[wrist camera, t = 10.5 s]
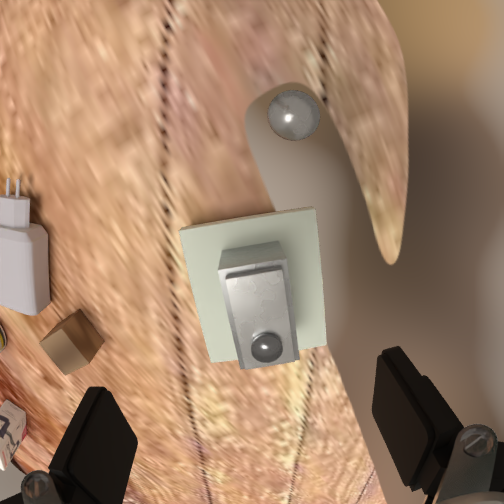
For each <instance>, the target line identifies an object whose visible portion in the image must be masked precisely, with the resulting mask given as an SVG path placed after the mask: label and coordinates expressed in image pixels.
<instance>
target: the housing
mask: <svg viewBox="0 0 504 504" xmlns="http://www.w3.org/2000/svg"><path fill="white" fill-rule="evenodd" d="M218 274H219V279H220V283H221V288H222V292H223V297H224V301H225V306H226V310H227V314H228V319H229V323H230V327H231V332H232V336H233V340H234V344H235V348H236V353H237V357H238V361H239V365H240V369H246V370H247V369H253V368H260V367H266V366H272V365H278V364H284V363H289V362H295V360H300V358H299V349H298V341H297V333H296V324H295V316H294V309H293V301H292V293H291V286H290V278H289V271H288V264H287V258H286V256H285V254H284V251H283V249H282V247H281V245H280V243H279V241H272V242H267V243H261V244H255V245H249V246H243V247H238V248H232V249H226V250H222V252H221V257H220V261H219V266H218Z"/></svg>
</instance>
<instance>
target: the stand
mask: <svg viewBox="0 0 504 504" xmlns="http://www.w3.org/2000/svg"><path fill="white" fill-rule="evenodd" d="M179 234H180V239H181V244H182V248H183V253H184V257H185V262H186V266H187V271H188V275H189V279H190V283H191V288H192V292H193V296H194V300H195V304H196V308H197V312H198V316H199V320H200V324H201V327H202V331H203V335H204V339H205V342H206V346H207V350H208V353H209V357H210V361H211V363H215V362H223V361H232V360H238V357H237V353H236V348H235V344H234V340H233V336H232V332H231V327H230V323H229V319H228V314H227V310H226V306H225V301H224V297H223V292H222V288H221V283H220V279H219V274H218V266H219V261H220V257H221V252H222V250H226V249H232V248H238V247H243V246H249V245H255V244H261V243H267V242H272V241H279V243H280V245H281V247H282V249H283V251H284V254H285V256H286V258H287V264H288V271H289V278H290V286H291V293H292V301H293V309H294V316H295V324H296V333H297V341H298V349H299V350H303V349H308V348H313V347H319V346H324V345H327V344H326V326H325V310H324V309H325V308H324V294H323V281H322V269H321V258H320V248H319V236H318V227H317V218H316V209H315V208H313V207H304V208H298V209H291V210H284V211H277V212H271V213H264V214H258V215H252V216H246V217H239V218H233V219H227V220H221V221H215V222H209V223H204V224H198V225H192V226H186V227H182V228H181V229H180V230H179Z"/></svg>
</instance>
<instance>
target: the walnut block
mask: <svg viewBox="0 0 504 504" xmlns="http://www.w3.org/2000/svg"><path fill="white" fill-rule="evenodd" d="M103 342H104V340H103V339H102V338H101V336H100V335H99V334H98V332H97V331H96V330H95V328H94V327H93V326H92V324H91V323H90V322H89V320H88V319H87V318H86V316H85V315H84V314H83V312H82V311H81V310H80V309H79V310H78V311H76V312H75V313H73V314H72V315H70V316H69V317H67V318H66V319H64V320H63V321H61V322H60V323H58V324H57V325H56V326H55V327H54V328H53V329H52V330H51V331H50V332H49V333H48V334H47V335H46V336H45V337H44V339H43V340H42V341H41V342H40V343H39V344H40V345H41V347H42V348H43V349H44V350H45V352H46V353H47V354H48V356H49V357H50V358H51V359H52V361H53V362H54V363H55V364H56V365H57V367H58V368H59V369H60V370H61V371H62V373H63V374H64V375H67V374H69V373H71V372H73V371H75V370H77V369H80V368H82V367H84V366H86V365H88V364H89V363H90V362H91V360H92V359H93V357H94V356H95V354H96V353H97V351H98V350H99V348H100V347H101V345H102V344H103Z"/></svg>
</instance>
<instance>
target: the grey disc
mask: <svg viewBox="0 0 504 504" xmlns="http://www.w3.org/2000/svg"><path fill="white" fill-rule="evenodd" d="M267 117H268V122H269V125H270V127H271V129H272V130H273V131H274V132H275V133H276V134H277V135H278V136H279V137H282V138H283V139H286V140H291V141H296V140H301V139H304V138H307V137H308V136H310V135H311V134H312V133H314V132H315V130H316V129H317V127H318V125H319V121H320V112H319V108H318V106H317V104H316V102H315V101H314V100H313V99H312V98H311V97H310V96H309V95H307V94H306V93H304V92H301V91H296V90H289V91H285V92H282V93H280V94H278V95H277V96H276V97H275V98H274V99H273V100H272V102H271V104H270V106H269V108H268V113H267Z"/></svg>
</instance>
